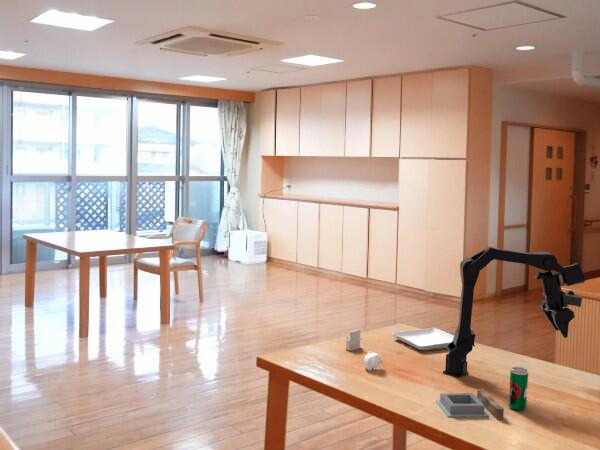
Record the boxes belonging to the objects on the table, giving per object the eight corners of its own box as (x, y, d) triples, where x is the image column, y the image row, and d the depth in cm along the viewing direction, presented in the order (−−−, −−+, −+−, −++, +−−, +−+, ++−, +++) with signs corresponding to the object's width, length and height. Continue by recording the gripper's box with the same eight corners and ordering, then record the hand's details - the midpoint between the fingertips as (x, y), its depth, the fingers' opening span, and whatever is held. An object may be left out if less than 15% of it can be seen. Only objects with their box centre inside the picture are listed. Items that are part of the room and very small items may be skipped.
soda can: (527, 412, 194) (529, 372, 192) (509, 410, 195) (511, 370, 193) (525, 405, 199) (527, 367, 197) (507, 404, 200) (509, 365, 198)
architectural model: (343, 349, 255) (343, 330, 254) (355, 346, 260) (356, 327, 259) (349, 351, 253) (350, 332, 252) (362, 348, 257) (362, 329, 256)
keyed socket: (435, 401, 201) (436, 392, 200) (474, 401, 202) (474, 391, 201) (447, 417, 189) (448, 407, 188) (488, 416, 190) (489, 406, 189)
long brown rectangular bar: (476, 398, 204) (477, 389, 203) (483, 398, 204) (483, 389, 204) (496, 419, 188) (496, 408, 188) (503, 419, 188) (503, 408, 188)
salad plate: (419, 354, 250) (420, 345, 250) (390, 339, 270) (390, 331, 269) (465, 348, 259) (466, 340, 258) (434, 335, 278) (434, 327, 278)
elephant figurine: (387, 371, 229) (387, 354, 228) (366, 373, 226) (366, 356, 225) (378, 365, 235) (378, 349, 234) (357, 367, 232) (358, 350, 232)
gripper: (586, 289, 211) (595, 336, 213) (568, 279, 230) (577, 322, 231) (550, 296, 213) (560, 343, 214) (535, 285, 231) (544, 328, 232)
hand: (561, 333), depth 223 cm, fingers open, 9 cm apart
